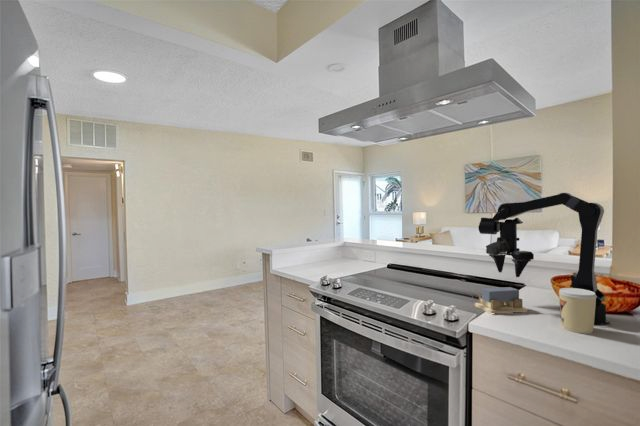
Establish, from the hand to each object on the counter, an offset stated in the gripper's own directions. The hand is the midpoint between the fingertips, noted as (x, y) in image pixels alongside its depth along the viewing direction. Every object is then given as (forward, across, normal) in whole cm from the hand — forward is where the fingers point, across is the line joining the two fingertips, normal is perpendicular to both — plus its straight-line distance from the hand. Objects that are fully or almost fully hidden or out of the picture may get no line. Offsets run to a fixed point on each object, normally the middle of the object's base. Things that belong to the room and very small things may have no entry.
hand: (508, 274), depth 127 cm
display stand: (+12, +4, -7) cm, 14 cm away
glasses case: (+8, +4, -7) cm, 12 cm away
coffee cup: (+12, +26, +2) cm, 29 cm away
